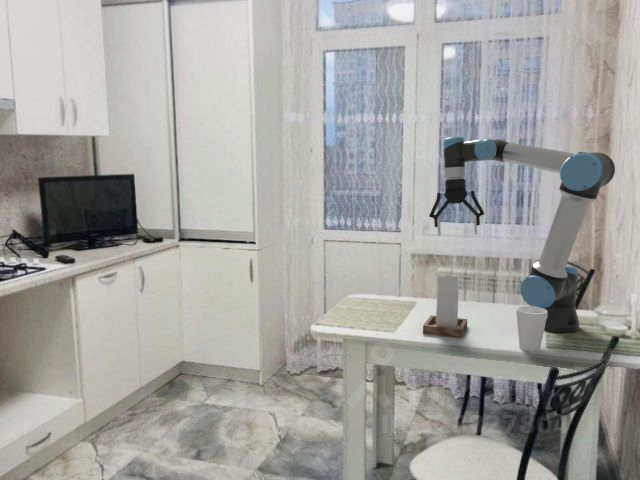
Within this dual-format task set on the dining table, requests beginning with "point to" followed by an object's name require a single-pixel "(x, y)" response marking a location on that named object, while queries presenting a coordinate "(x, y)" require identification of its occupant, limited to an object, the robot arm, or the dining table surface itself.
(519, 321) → the foam cup
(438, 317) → the milk carton
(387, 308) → the dining table surface
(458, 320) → the tray
